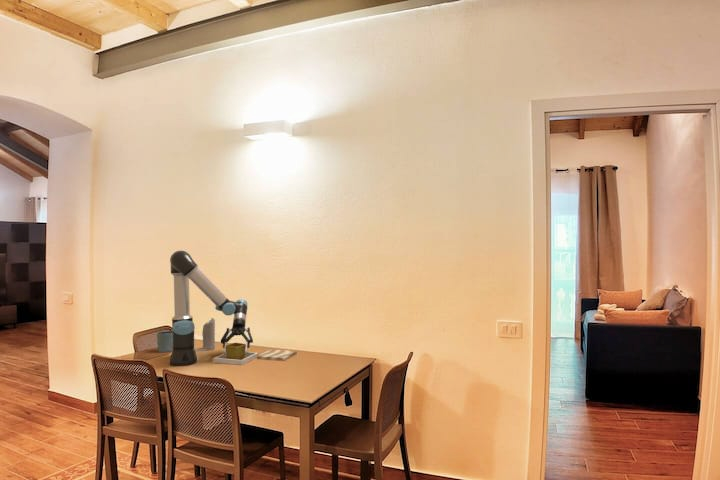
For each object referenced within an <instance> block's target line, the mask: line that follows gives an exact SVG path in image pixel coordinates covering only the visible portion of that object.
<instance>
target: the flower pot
mask: <svg viewBox="0 0 720 480" xmlns="http://www.w3.org/2000/svg"><path fill="white" fill-rule="evenodd" d="M245 348H246V343H241V342H233V343H230V344H227V345H226V353H227V356H228V357H227V359H236V360H243V359H244V358H243V357H245V356H244V354H245Z"/></svg>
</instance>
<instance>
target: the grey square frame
mask: <svg viewBox="0 0 720 480" xmlns="http://www.w3.org/2000/svg"><path fill="white" fill-rule="evenodd" d="M258 355H259V352H251V351H247V354H246V353H245V354H244V356H243V357H245V358H242V359H240V360H236V359H229V358H228V356H227V353H226V354H224V353H222V354H220V355H217V356H215V357H213V358H212V363H214V364H227V365H239V366H242V365H245V364H247V363H249V362H251V361H252V360H255V359H257V356H258Z"/></svg>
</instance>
